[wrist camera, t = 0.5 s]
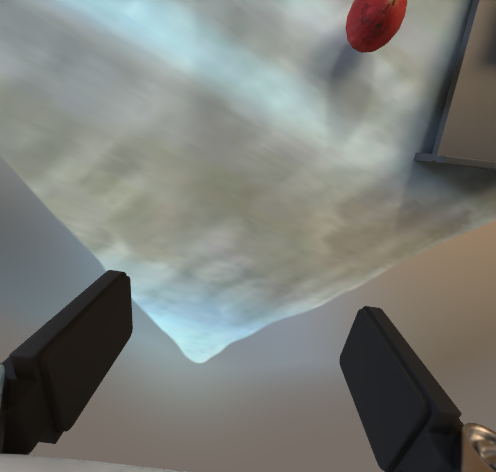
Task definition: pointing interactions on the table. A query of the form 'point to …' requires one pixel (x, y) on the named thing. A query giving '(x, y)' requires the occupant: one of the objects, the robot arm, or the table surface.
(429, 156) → the ramp
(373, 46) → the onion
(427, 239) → the table surface
